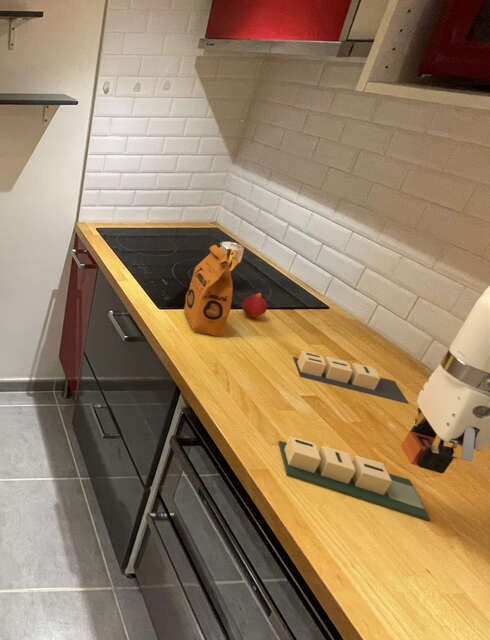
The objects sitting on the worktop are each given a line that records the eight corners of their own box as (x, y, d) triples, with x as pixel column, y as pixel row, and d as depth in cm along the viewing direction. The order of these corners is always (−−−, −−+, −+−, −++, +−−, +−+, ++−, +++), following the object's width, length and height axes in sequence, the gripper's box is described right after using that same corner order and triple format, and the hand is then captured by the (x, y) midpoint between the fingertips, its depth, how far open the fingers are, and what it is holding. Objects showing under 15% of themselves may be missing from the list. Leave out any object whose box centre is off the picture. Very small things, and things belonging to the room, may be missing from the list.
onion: (240, 320, 127) (249, 296, 123) (237, 309, 132) (245, 286, 128) (264, 324, 125) (273, 300, 122) (260, 314, 130) (268, 290, 126)
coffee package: (186, 332, 121) (206, 260, 112) (179, 308, 131) (197, 241, 122) (226, 340, 118) (250, 266, 109) (216, 315, 129) (237, 246, 120)
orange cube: (430, 454, 75) (440, 438, 74) (442, 473, 72) (453, 457, 70) (400, 445, 77) (410, 430, 75) (410, 464, 73) (420, 448, 72)
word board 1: (393, 382, 104) (401, 368, 102) (408, 406, 97) (416, 391, 96) (291, 358, 111) (297, 344, 110) (299, 378, 105) (305, 364, 103)
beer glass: (218, 294, 139) (231, 251, 133) (202, 283, 146) (214, 242, 139) (236, 292, 141) (250, 249, 135) (220, 281, 147) (232, 240, 141)
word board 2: (408, 481, 80) (418, 465, 79) (429, 521, 74) (441, 504, 72) (278, 442, 88) (285, 426, 86) (286, 475, 81) (294, 458, 79)
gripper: (552, 418, 58) (481, 510, 66) (480, 346, 72) (428, 429, 80) (475, 399, 61) (415, 490, 69) (420, 334, 75) (375, 415, 83)
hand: (423, 456), depth 74 cm, fingers closed on orange cube, 4 cm apart
